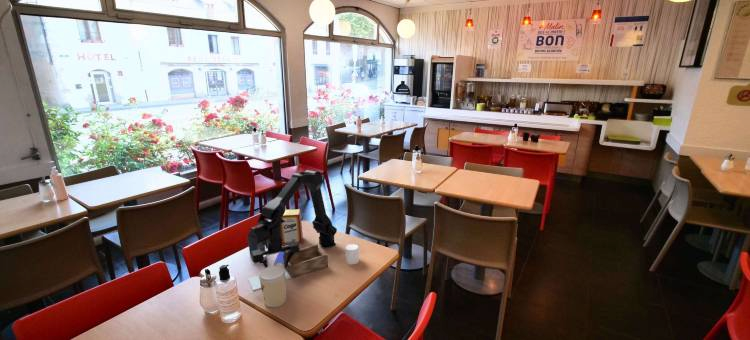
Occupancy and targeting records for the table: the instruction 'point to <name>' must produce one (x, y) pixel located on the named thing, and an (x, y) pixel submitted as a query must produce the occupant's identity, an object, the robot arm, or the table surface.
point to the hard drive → (279, 258)
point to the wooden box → (306, 261)
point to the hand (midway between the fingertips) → (276, 270)
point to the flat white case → (256, 282)
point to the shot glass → (352, 253)
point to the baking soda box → (291, 227)
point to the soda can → (256, 247)
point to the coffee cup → (273, 285)
